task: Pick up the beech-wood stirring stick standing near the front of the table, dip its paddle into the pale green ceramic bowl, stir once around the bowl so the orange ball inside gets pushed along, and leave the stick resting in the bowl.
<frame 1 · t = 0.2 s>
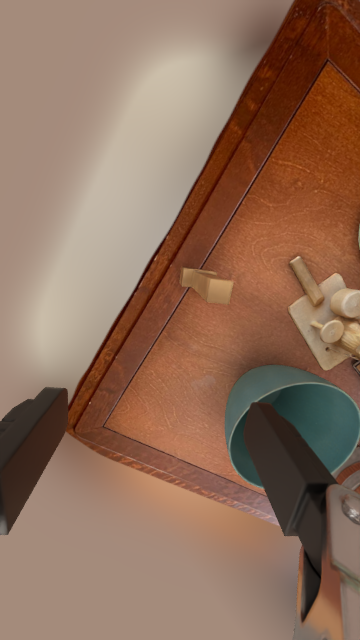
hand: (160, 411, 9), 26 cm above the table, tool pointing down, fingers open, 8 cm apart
mug: (339, 474, 48), on the table
wooden toy: (321, 310, 36), on the table
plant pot: (256, 387, 40), on the table
stick: (194, 276, 33), on the table
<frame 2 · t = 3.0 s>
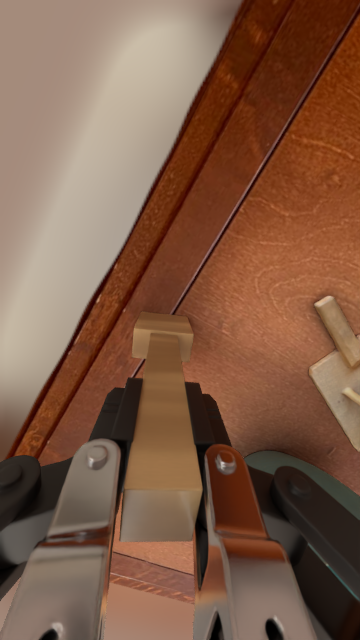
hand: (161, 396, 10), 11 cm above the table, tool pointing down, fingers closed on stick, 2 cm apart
wooden toy: (359, 371, 24), on the table
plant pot: (260, 473, 28), on the table
stick: (163, 325, 21), on the table, touching gripper
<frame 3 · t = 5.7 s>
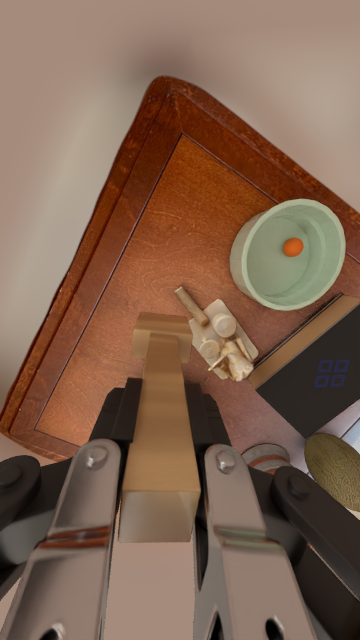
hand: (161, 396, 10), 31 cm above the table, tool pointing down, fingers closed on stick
mug: (253, 468, 55), on the table
book: (309, 359, 47), on the table
wooden toy: (212, 329, 43), on the table
stick: (162, 325, 21), point 20 cm above the table, touching gripper
fruit: (314, 439, 54), on the table
ball: (293, 247, 37), point 2 cm above the table, touching bowl
bowl: (271, 258, 40), on the table
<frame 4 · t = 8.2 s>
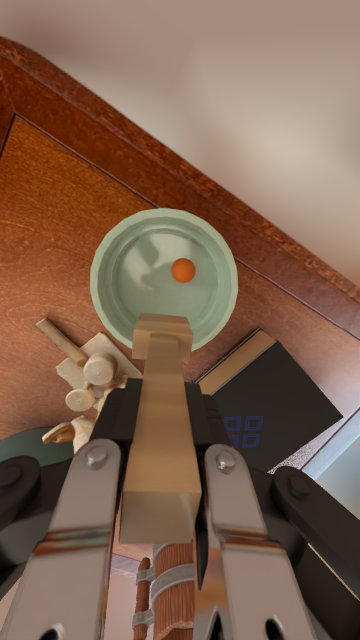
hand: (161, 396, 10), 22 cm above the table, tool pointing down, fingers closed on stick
mug: (174, 526, 46), on the table
book: (230, 404, 38), on the table
wooden toy: (99, 369, 34), on the table
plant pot: (50, 445, 37), on the table
stick: (162, 326, 21), point 11 cm above the table, touching gripper
ball: (183, 270, 28), point 2 cm above the table, touching bowl
bowl: (165, 282, 30), on the table
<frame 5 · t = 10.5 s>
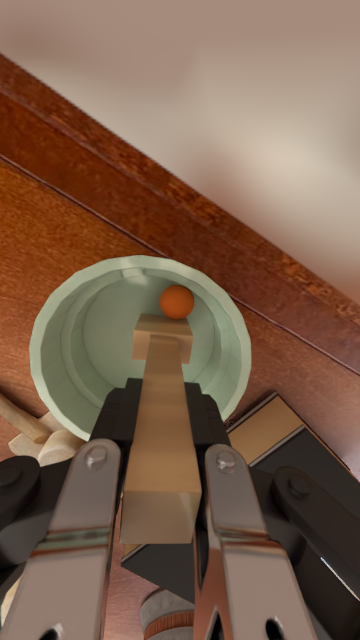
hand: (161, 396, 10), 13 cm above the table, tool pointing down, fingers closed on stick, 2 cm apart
mug: (168, 611, 38), on the table
book: (236, 478, 30), on the table
wooden toy: (66, 442, 26), on the table
stick: (162, 327, 21), point 2 cm above the table, touching gripper
ball: (177, 302, 19), point 2 cm above the table, tilted 88°, touching bowl
bowl: (150, 336, 23), on the table
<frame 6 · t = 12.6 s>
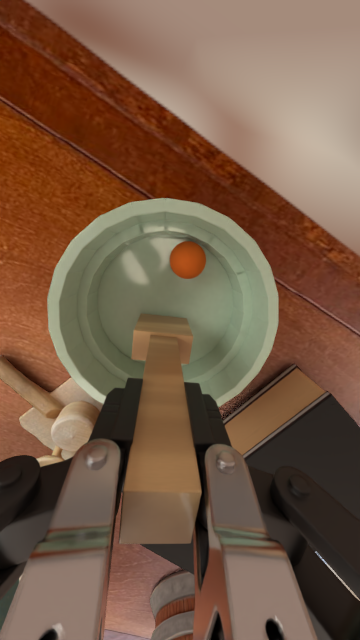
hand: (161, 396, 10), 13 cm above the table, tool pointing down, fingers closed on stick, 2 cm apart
mug: (178, 597, 37), on the table
book: (251, 457, 29), on the table
wooden toy: (78, 418, 25), on the table
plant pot: (17, 511, 29), on the table
stick: (162, 327, 21), point 2 cm above the table, touching gripper
ball: (187, 260, 19), point 2 cm above the table, tilted 88°, touching bowl
bowl: (166, 305, 22), on the table
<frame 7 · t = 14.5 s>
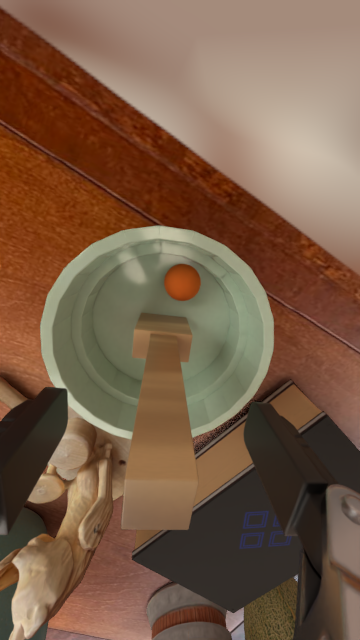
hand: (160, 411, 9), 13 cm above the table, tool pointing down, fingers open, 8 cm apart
mug: (175, 606, 37), on the table
book: (248, 470, 29), on the table
wooden toy: (73, 433, 25), on the table
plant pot: (13, 524, 29), on the table
stick: (162, 326, 21), point 1 cm above the table, touching bowl
fruit: (264, 569, 36), on the table
ball: (182, 282, 18), point 2 cm above the table, tilted 80°, touching bowl
bowl: (162, 322, 22), on the table
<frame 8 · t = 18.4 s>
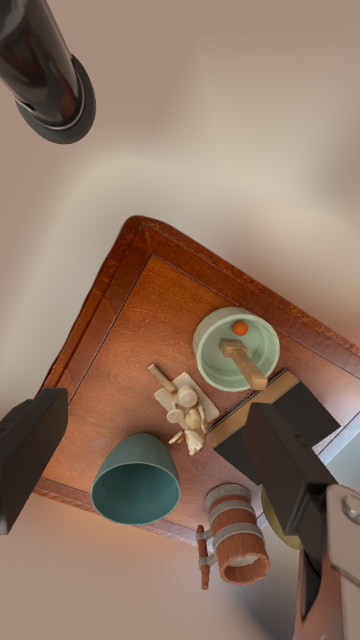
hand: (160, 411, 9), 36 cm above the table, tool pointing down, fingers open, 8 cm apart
mug: (219, 503, 64), on the table
book: (264, 416, 55), on the table
wooden toy: (180, 394, 52), on the table
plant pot: (142, 444, 55), on the table
stick: (229, 343, 47), point 1 cm above the table, touching bowl
fruit: (272, 479, 62), on the table
ball: (240, 328, 45), point 2 cm above the table, tilted 64°, touching bowl
bowl: (228, 341, 48), on the table
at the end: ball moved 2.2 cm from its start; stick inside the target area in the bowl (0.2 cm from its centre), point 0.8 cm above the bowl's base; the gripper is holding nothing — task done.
